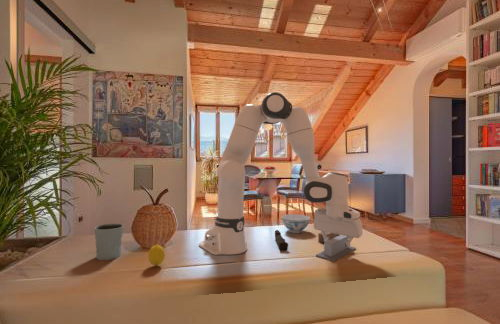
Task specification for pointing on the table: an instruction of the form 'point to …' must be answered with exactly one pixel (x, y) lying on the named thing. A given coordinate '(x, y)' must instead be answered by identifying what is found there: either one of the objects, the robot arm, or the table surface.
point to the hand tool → (280, 241)
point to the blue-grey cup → (108, 241)
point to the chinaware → (295, 222)
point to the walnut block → (328, 234)
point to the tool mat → (336, 256)
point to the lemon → (156, 255)
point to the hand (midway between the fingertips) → (336, 244)
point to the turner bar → (335, 245)
